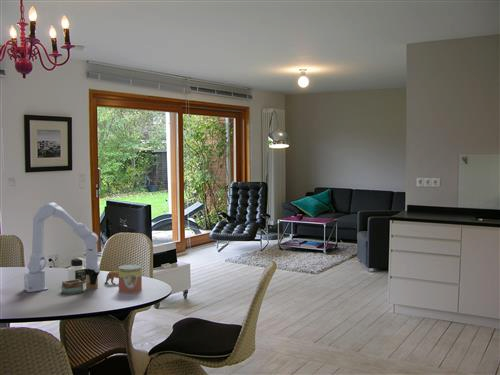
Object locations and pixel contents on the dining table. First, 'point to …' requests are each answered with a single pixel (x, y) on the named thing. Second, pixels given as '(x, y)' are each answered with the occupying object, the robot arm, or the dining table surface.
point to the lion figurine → (112, 276)
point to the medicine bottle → (77, 270)
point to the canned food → (130, 279)
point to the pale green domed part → (72, 290)
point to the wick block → (88, 283)
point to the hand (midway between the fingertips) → (92, 283)
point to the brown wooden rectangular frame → (72, 283)
